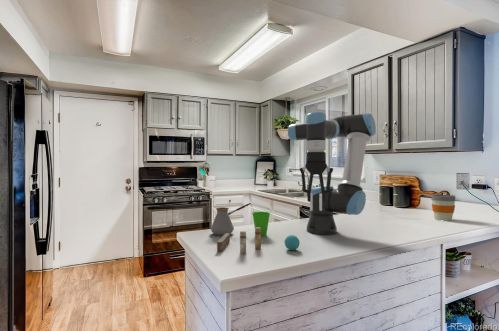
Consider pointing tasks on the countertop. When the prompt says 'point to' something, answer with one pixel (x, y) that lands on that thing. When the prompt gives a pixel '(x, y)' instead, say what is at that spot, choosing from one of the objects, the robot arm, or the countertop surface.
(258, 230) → the front pin
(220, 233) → the coffee pot
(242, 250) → the side pin
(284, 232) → the countertop surface
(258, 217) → the cup
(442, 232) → the countertop surface
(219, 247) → the bar
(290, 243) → the ball
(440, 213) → the reusable coffee cup
